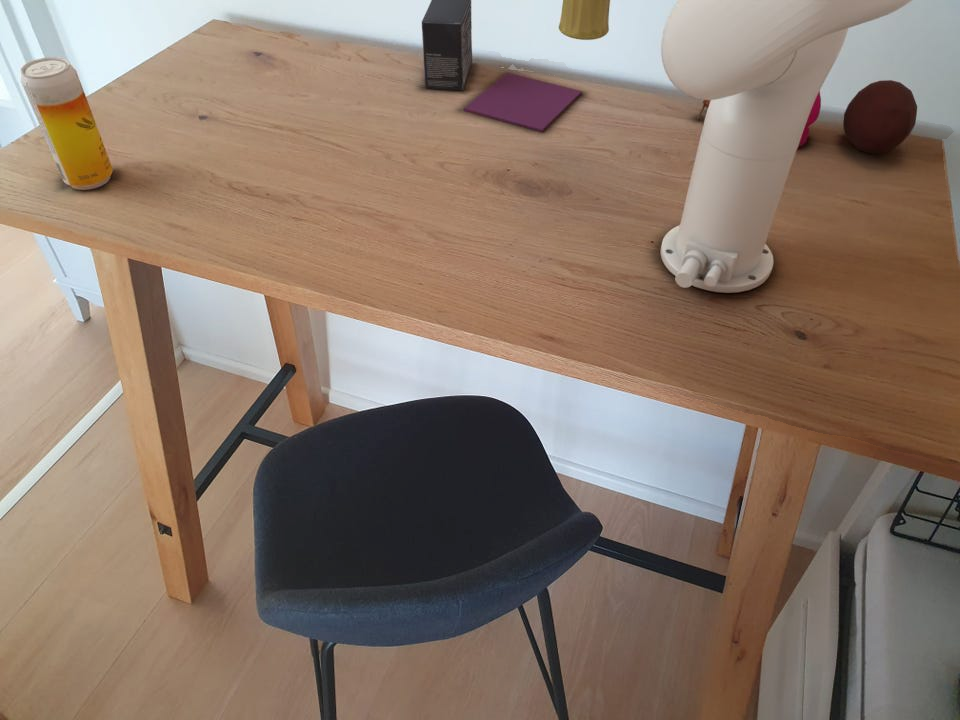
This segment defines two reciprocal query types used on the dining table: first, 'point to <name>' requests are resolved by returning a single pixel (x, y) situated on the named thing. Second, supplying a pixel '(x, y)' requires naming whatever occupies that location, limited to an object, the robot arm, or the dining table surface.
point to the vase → (585, 19)
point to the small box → (447, 44)
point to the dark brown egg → (880, 116)
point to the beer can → (66, 122)
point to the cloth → (523, 101)
